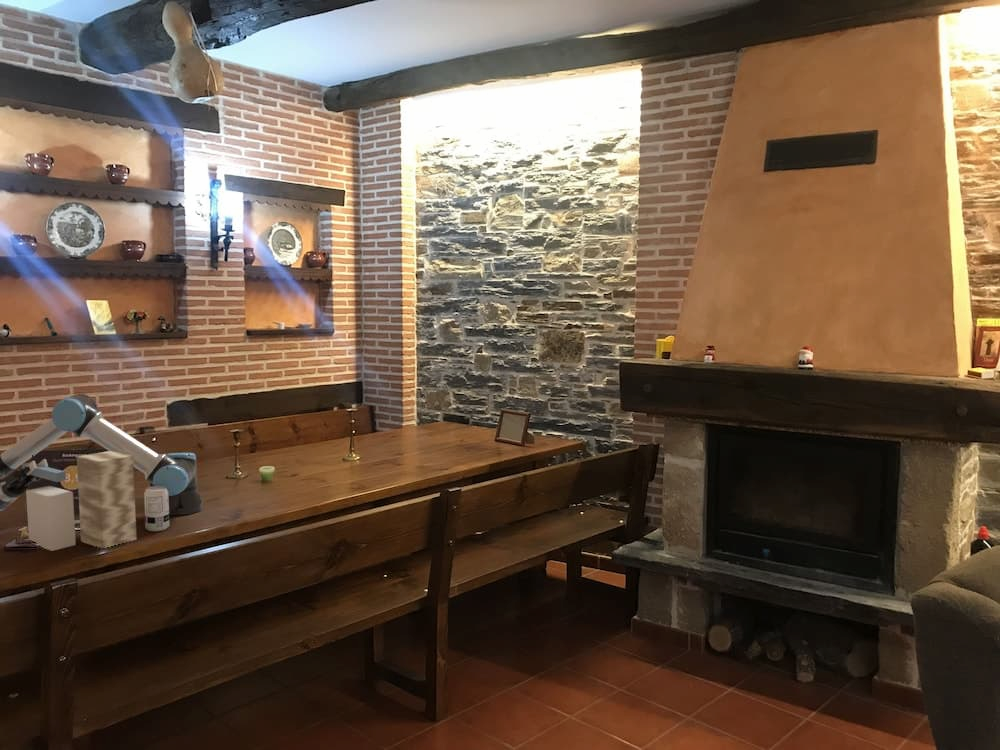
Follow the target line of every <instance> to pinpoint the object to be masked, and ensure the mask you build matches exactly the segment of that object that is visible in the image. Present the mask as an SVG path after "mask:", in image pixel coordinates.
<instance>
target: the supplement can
mask: <svg viewBox="0 0 1000 750" xmlns="http://www.w3.org/2000/svg"><path fill="white" fill-rule="evenodd" d="M143 500H144V501H143V502H144V503H143V504H144V505H143V506H144V528H145V529H146V530H147V531H148V532H161V531H165V530H167V529H168V528H169V527H170V515H169V492H168V490H167V488H166V487H165V486H154V485H153V486H148V487H146V488H145V490H144V493H143Z"/></svg>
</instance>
